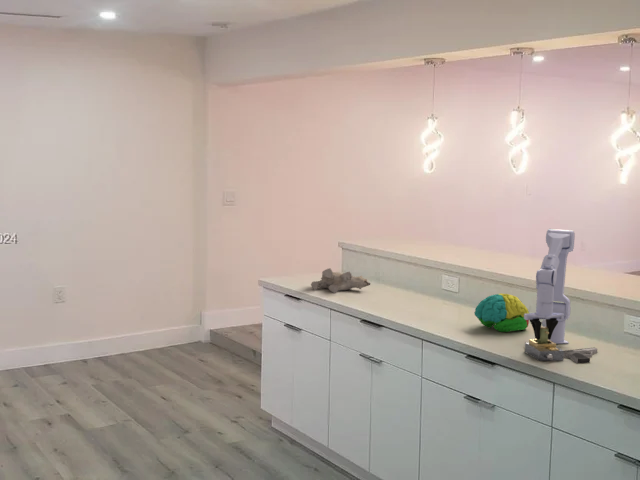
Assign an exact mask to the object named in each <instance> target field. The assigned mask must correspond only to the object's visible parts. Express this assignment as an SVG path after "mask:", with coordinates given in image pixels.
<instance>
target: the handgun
mask: <svg viewBox="0 0 640 480" xmlns="http://www.w3.org/2000/svg"><path fill="white" fill-rule="evenodd" d="M563 351H564V356H563V359H564V358H565V359H567V358H568V359H570V360H571V361H573V362H574V363H575V364H584V363H585V364H586V363H587V364H588V363H591V357H592V356H593V354H596V353H598V348H597V347H586V348H579V349H577V348H576V349H566V350H563Z"/></svg>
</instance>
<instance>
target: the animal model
mask: <svg viewBox="0 0 640 480" xmlns="http://www.w3.org/2000/svg"><path fill="white" fill-rule="evenodd" d="M310 286H311V288H312V289H313V290H317V289H319V288H322V289H327V290H329V291H330V292H331V293H333V294H336V293H338V291H340V292H343V291H348V290H352V289H355V288H356V289H359V290H362V288H365V287H366V288H367V287H369V286H371V282H369V281H368V279H367V278H364V277H363V275H360V276H354V275H352V273H351V271H347V272H346V271H345V272H343V273H342V272H341V273H340V272H336V271H334V270H332V269H331V268H327V269H324V270H323V271H322V273H321V278H320V280H318V281H317V280H316V281H312V282H311V283H310Z"/></svg>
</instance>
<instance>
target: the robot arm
mask: <svg viewBox="0 0 640 480" xmlns="http://www.w3.org/2000/svg"><path fill="white" fill-rule="evenodd" d="M575 235H576V233H575V231H574V230H572V229H557V228H556V229H553V228H548V229H547V231H546V235H545V243H546V245H547V247H548V253H547V254H546V255H545V256H544V257H543V259H542V263H541V264H540V269H537V270H536V273H535V274H536V275H535V283H536V286H535V287H536V288H535V289H536V304H535V305H536V306H535V312H529V313H528V314H524V319H525V320H529V323H530V324H531V326H532V329H533V333H534V339H537V340H539V338H540V328H541V326H544V327H547V328H549V331H548V332H549V334H548V339H549V340H550V341H552V342H554V343H556V345H558V344H562V345H563V344H570V343H569V341H567V340H565V334H566V321H567V320H568V319H570V316H571V300H570V298H569V297H567V295H565V294H564V293H565V286H566V285H565V283H566V273H567V261H568V255H569V253H571V252H573V251H574V247H575V237H576V236H575ZM541 320H542V321H541Z"/></svg>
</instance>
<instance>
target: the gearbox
mask: <svg viewBox="0 0 640 480" xmlns="http://www.w3.org/2000/svg"><path fill="white" fill-rule="evenodd" d="M564 351H565V350H564V349H562V348H560V347H558V346H557V344H556V343H554V342H552V341H550V340H549V339H548V343H543V344H539V343H537V339H535V338H530V339H528V342H525V343H524V353H526V354H527V355H528V356H531V357H532V358H534V359H535V360H537V361H538V362H548V361H549V362H550V361H552V362H553V361H564V358H563V356H564Z"/></svg>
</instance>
